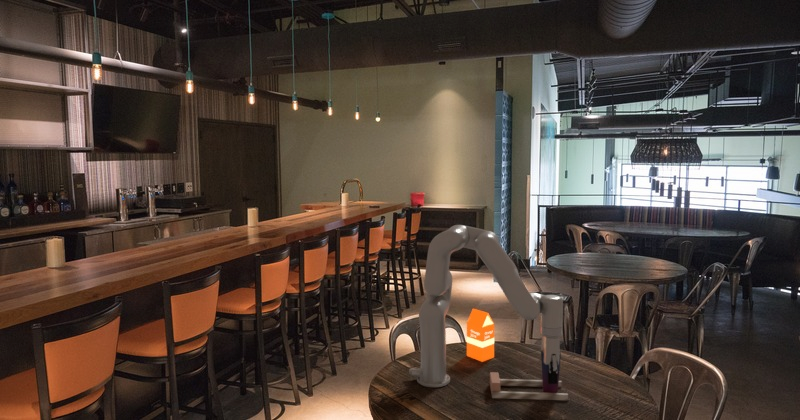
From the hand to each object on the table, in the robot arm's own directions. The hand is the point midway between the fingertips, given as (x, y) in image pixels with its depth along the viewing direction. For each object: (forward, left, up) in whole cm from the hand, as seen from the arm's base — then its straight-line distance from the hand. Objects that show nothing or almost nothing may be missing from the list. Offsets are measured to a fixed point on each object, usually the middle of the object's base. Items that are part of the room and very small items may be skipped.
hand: (550, 378), depth 184 cm
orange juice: (-23, +32, -5) cm, 40 cm away
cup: (0, 0, -5) cm, 5 cm away
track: (-8, 0, -5) cm, 10 cm away
